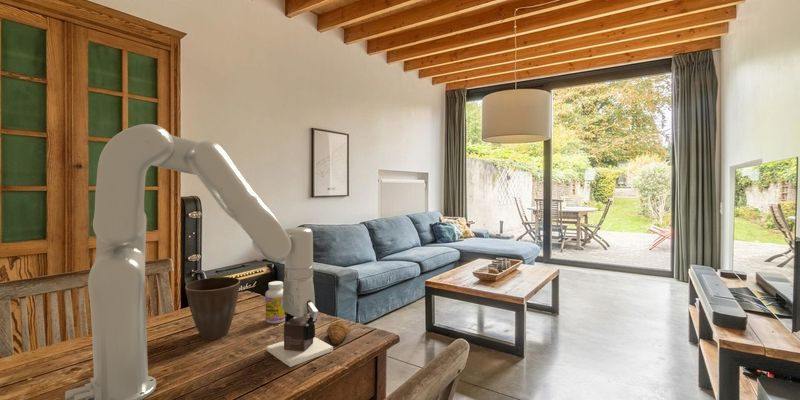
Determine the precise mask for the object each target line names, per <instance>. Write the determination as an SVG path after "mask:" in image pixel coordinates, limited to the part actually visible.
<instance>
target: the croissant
mask: <svg viewBox="0 0 800 400" xmlns="http://www.w3.org/2000/svg"><path fill="white" fill-rule="evenodd" d="M349 331H350V329H349V327H348V325H347V323H345V322H344V321H343V322H342V321H334V322H333V323H330V324H329V325H328V327H327V330H326V333H327V335H328V337H329V340H330V342H331V343H332V344H333V345H334V346H338V345H341V344H342V343H343V342H344V340H345V338H346V337H347V334H349Z"/></svg>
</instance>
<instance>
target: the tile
mask: <svg viewBox="0 0 800 400" xmlns="http://www.w3.org/2000/svg"><path fill="white" fill-rule="evenodd" d="M266 351H267V352H268V353H270V354H271V355H272V356H274V357H275V358H277V359H278V360H280V361H281V362H282V363H283V364H285V365H287V366H288V367H290V368H292V367H294V366H297V365H299V364H304V363H305V362H308V361H311V360H314V359H316V358H317V357H321V356H323V355H326V354H328V353H332V352H334V346H332V345H331V344H329V343H327V342H326V341H324V340H321V339H320V338H318V337H316V336H315V337H314V338H313V344H312V345H311V346H310V347H309V348H307V349H306V350H305V351H294V350H284V340H283V341H279V342H276V343H273V344H270V345H266Z"/></svg>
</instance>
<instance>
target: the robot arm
mask: <svg viewBox="0 0 800 400" xmlns="http://www.w3.org/2000/svg"><path fill="white" fill-rule="evenodd" d="M97 163H98V164H97V171H96V184H95V195H94V196H95V198H94V214H93V221H92V227H93V228H92V229H93V232H94V234H95V237H96V240H95V241H96V242H95V244H96V247H95V248H96V249H95V251H96V252H95V262H94V263H93V265H92V267H91V268H90V270H89V275H88V278H87V279H88V280H87V287H88V289H87V290H88V298H89V307H90V317H91V318H90V319H91V320H90V321H91V322H90V323H91V324H90V325H91V335H92V336H91V337H92V340H91V341H92V358H93V359H92V361H93V362H92V363H93V365H92V366H93V377H90V382H88V383H84V386H80V387H75V388H73V389H69V390H68V389H67V390H65V395H64V396H65V400H144V399H146V398H147V397H148V396H150V395H151V394H152V393H153V392H154V391H155V390H156V388H157V380H156V378H155V377H153V376H151V375H149V367H148V366H149V365H148V337H147V336H148V335H147V334H148V333H147V331H148V330H147V313H146V312H147V307H146V247H147V246H146V245H147V223H148V222H147V221H148V220H147V219H148V218H147V215H146V212H145V193H146V192H145V191H146V177H147V172H148V170H149V168H150V167H151V166H152V167H153V166H154V167H157V168H162V169H167V170H170V171H176V172H180V173H184V174H189V175H194V176H197V178H198V179H199V181H200V182H201V183H202V184H203V186H205V188H206V189H207V190H208V192H209V193H210V195H211V196H212V197H213V198H214V200H215V201H216V203H217V204H218V205H219V207H220V208H221V209H222V210H223V211H224V212H225V213H226V214H227V216H229V217H230V218H231V219H232V220H234V222H236V223H237V224H238V225H239V226H240V227H241V228H242V229H243V231H244V232H245V233H246V234H247V235H248V236H249V238H250V239H251V243H252V244H251V245H252V248H253V249H254V251H255V252H257V254H258V255H260V256H262V257H263V258H264V259H266V260H268V261H271V262H280V261H283V260H284V279H283V287H282V289H283V298H282V300H283V310H284V311H285V312H284V315H285V320H284V323H286V322H287V321H288V320H289V319H292V318H293V317H296V318H301V317H302V319H303V321H304V324H305V325H304V326H303V340H304V341H307V340H310V339H313V338H314V337H316V327H315V326H316V324H317V321H318V316H319V310H318V309H317V307H316V298H315V296H316V295H315V285H314V279H313V278H314V234H313V233H314V232H313V230H312V229H311V228H310V227H304V226H302V227H301V226H299V227H298V226H297V227H296V226H295V227H290V228H284V226H282V225H281V223H280V221H279V220H278V219H277V218H276V216H275V215H274V213H272V211H271V210H270V209H269V208H268V207H267V205H266V204H265V203H264V202H263V200H262V198H261V197H260V196H259V195H258V194H257V192H255V191H254V189H253V187H252V186H251V185H250V184H249V182H248V181H247V180H246V178H245V177H244V175H243V174H242V173H241V171H240V169H239V168H238V167H237V165H236V164H235V162H233V160H232V158H231V157H230V156H229V154H228V153H227V151H225V149H224V148H223V147H222V146H221V145H220V144H219V143H217V142H215V141H212V140H203V141H194V140H191V139H187V138H183V137H180V136H176V135H173V134H171V133H170V132H169V131H167V129H165V128H164V127H163V126H160V125H157V124H153V123H143V124H142V123H141V124H138V125H134V126H131V127H129V128H126V129H124V130H122V131H120V132H119V133H117V134H115V135H114V136H113V137H112V138H110V140H109V141H108V142H107V143H106V144H105V146H104V147H103V149H102V151H101V153H100V156H99V159H98V162H97ZM306 317H308V318H309V319H308V320H307V318H306Z"/></svg>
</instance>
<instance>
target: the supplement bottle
mask: <svg viewBox="0 0 800 400" xmlns="http://www.w3.org/2000/svg"><path fill="white" fill-rule="evenodd" d="M283 285H284V281H281V280H274V281H273V280H272V281H270V282H268V290H266V292H265V294H264V295H265V298H264V299H265V322H266V323H268V324H279V323H283V322H285V315H284V312H285V311H284V310H283V300H282V298H283Z"/></svg>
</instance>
